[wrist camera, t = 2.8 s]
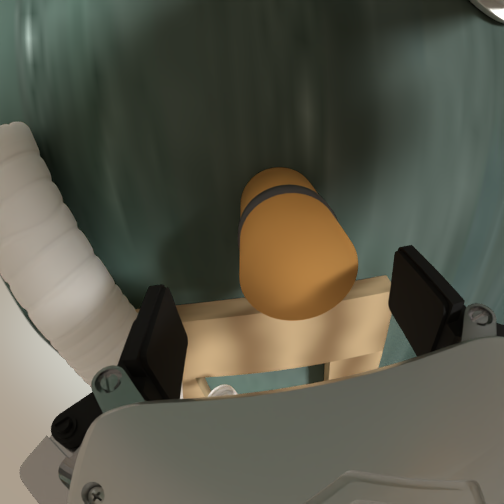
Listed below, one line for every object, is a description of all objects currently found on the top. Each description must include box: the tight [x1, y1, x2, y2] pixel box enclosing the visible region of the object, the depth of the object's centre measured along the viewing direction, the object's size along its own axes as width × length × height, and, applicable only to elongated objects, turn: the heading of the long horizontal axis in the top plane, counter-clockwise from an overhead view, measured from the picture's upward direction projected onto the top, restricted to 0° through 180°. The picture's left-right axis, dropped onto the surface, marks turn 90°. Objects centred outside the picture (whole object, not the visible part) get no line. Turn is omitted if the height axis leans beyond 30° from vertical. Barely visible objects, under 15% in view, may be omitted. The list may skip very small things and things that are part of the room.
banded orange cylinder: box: [238, 167, 358, 321], centre depth 15 cm, size 5×5×8 cm
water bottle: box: [0, 122, 238, 399], centre depth 16 cm, size 9×6×25 cm
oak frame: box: [135, 275, 391, 399], centre depth 25 cm, size 22×16×3 cm
